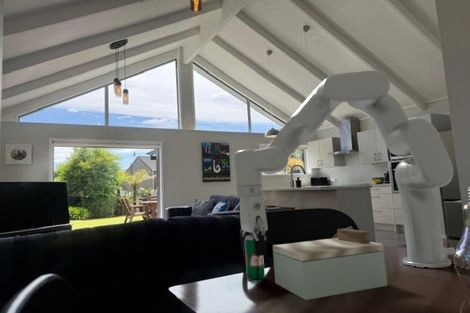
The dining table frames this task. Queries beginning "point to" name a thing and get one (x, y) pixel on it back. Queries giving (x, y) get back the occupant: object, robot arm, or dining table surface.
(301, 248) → the lid
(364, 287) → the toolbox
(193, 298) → the dining table surface
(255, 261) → the soda can
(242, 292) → the dining table surface
